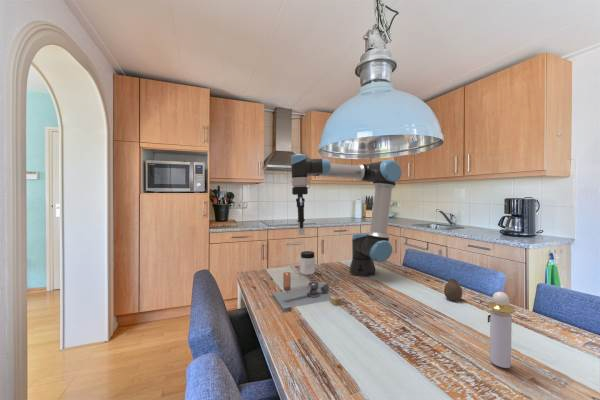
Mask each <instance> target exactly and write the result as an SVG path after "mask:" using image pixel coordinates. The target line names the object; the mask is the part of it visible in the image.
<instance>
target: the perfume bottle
mask: <svg viewBox="0 0 600 400" xmlns="http://www.w3.org/2000/svg"><path fill="white" fill-rule="evenodd" d="M487 307H488V308H489V309H491V310H490V311H489V312H490V314H489V315H487V323H489V324H490V325H489V327H490V328H489V329H490V330H489V361H490V362H491V363H492V364H494V365H495V366H497V367H499V368H503V369H509V368H511V367H512V330H513V329H512V326H513V325H512V323H513V322H512V319H513V318H512V314H513V313H515V311H516V310H515V307H514V306H512V305H510V297H509V295H508V294H507V293H506V292H503V291H495V292H494V294H492V301H489V302H487Z"/></svg>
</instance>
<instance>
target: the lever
mask: <svg viewBox="0 0 600 400" xmlns="http://www.w3.org/2000/svg"><path fill="white" fill-rule="evenodd" d="M282 275H283V277H282V278H283V284H282V285H283V292H284V291H286V293H287V294H292V293H296V292H301V291H306V290H311V289H312V290H315V289H318V288H320V287H321V291H323V292H328V291H329V292H330V284H328V283H327V282H325V281H309V282H308V284H304V285H303V284H302V285H298V286H291V285H292V284H291V272H288V271H285V272H283V274H282Z"/></svg>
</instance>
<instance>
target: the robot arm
mask: <svg viewBox="0 0 600 400" xmlns="http://www.w3.org/2000/svg"><path fill="white" fill-rule="evenodd" d="M290 157H291V158H290V159H291V160H290V166H291V167H290V168H291V169H290V170H291V179H290V182H291V185H292V189H291V193H292V195H293V196H295V195H296V196H297V198H295V202H296V208H297V220H296V221H297V224H298V236H305V221H306V219H305V202H306V201H305V198H304V195H308V192H309V190H308V183H309V182H308V177H324V178H325V177H326V178H340V179H341V178H342V179H356V180H357V181H361V182H367V183H372V185H373V187H374V188H375V189H374V197H373V203H372V205H373V206H372V213H371V221H370V229H369V232H366V233H364V232H363V233H354V234H353V235H352V239H351V241H352V242H351V243H352V244H351V247H352V249H351V251H352V253H351V254H352V259H351V262H350V265H349V268H348V269H349V273H350V274H351V275H354V276H360V277H371V276H375V275H376V273H377V272H376V271H377V270H376V269H377V268H376V267H375V266H376V265H375V262H378V263H383V262H386V261H387V260H388V259H390V258H391V255H392V254H393V247H392V245H391V243H390V242H389V241H390V236H389V235H388V234H387V233H388V225H389V217H390V216H389V215H390V210H391V209H390V207H391V200H392V199H391V198H392V192H393V191H392V190H393V189H394V188H396V183H397V181H399V180H400V179H401V177H402V168H401V165H400V164H399V163H398V161H396V160H393V159H384V160H382V161H377V162H372V163H359V164H358V165H355V164H353V165H352V164H341V163H331V161H330V160H329V159H328V158H323V157H322V158H308V157H307V155H306V153H295V154H292V155H291V156H290Z"/></svg>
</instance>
